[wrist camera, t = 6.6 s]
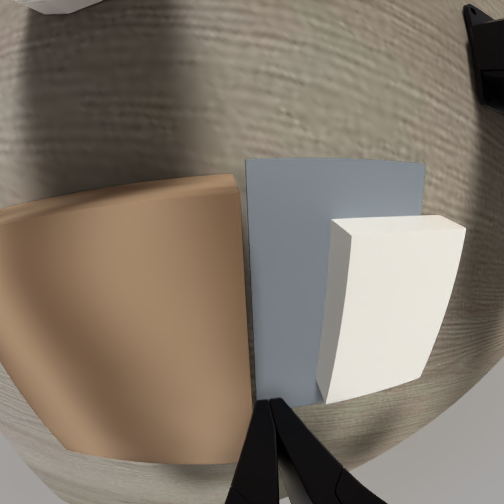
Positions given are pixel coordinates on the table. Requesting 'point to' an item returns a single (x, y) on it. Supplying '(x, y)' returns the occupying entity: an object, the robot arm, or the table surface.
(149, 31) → the table surface
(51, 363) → the tan beveled block
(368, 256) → the white sticky note pad
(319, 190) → the mat
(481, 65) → the robot arm
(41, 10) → the white cup
